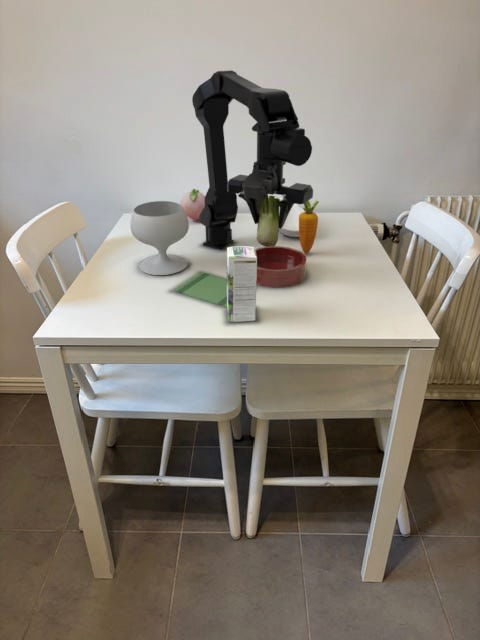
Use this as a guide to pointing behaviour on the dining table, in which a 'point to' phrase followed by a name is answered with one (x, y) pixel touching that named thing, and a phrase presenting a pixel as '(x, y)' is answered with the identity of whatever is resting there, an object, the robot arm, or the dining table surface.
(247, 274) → the syrup box
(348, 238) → the dining table surface
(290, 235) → the white gravy boat
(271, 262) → the bowl
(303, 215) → the carrot
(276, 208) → the fennel bulb
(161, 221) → the chalice
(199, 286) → the tea towel
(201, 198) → the decorative fruit
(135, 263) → the dining table surface
